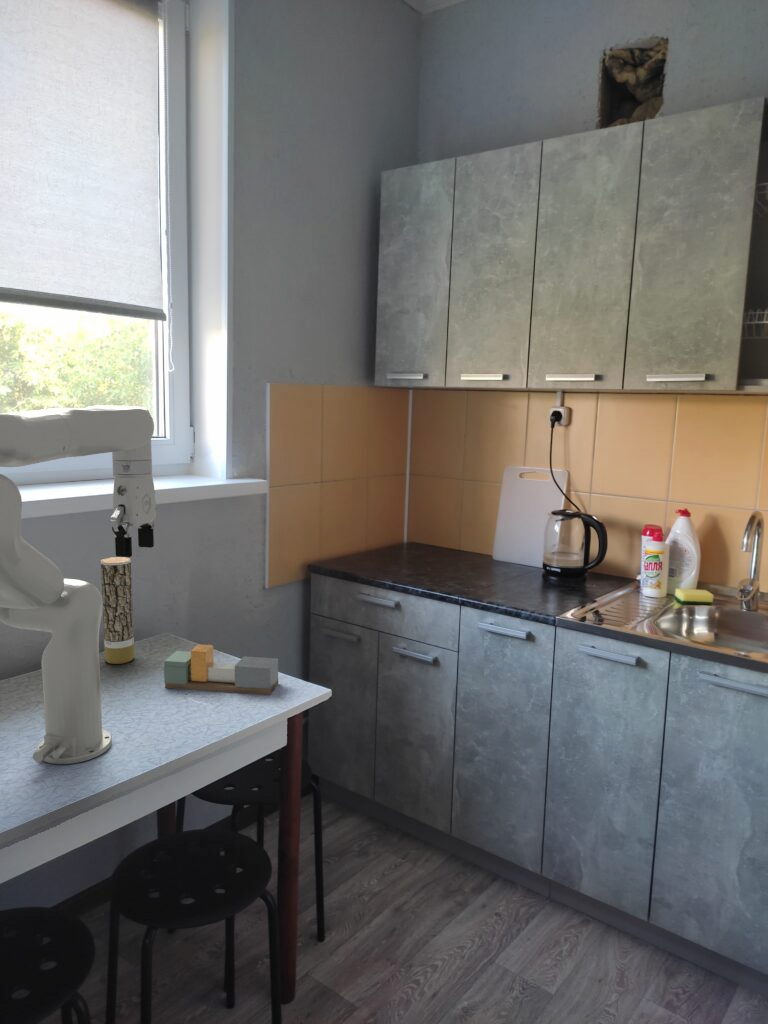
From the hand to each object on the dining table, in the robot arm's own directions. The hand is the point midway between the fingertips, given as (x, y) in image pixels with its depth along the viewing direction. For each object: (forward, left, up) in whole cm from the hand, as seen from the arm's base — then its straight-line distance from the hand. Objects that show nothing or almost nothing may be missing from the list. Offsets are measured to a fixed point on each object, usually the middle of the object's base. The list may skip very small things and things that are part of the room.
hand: (135, 551), depth 150 cm
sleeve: (+11, -22, -31) cm, 40 cm away
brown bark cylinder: (+22, +16, -32) cm, 42 cm away
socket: (+11, -4, -31) cm, 33 cm away
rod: (+11, -11, -31) cm, 35 cm away
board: (+11, -14, -32) cm, 37 cm away
